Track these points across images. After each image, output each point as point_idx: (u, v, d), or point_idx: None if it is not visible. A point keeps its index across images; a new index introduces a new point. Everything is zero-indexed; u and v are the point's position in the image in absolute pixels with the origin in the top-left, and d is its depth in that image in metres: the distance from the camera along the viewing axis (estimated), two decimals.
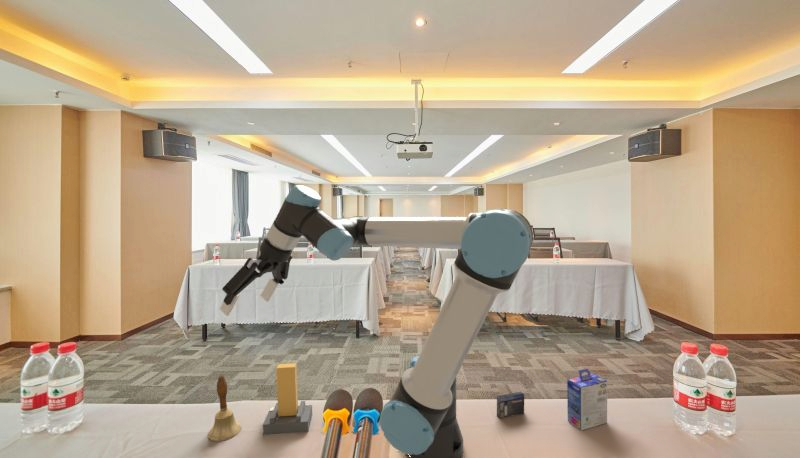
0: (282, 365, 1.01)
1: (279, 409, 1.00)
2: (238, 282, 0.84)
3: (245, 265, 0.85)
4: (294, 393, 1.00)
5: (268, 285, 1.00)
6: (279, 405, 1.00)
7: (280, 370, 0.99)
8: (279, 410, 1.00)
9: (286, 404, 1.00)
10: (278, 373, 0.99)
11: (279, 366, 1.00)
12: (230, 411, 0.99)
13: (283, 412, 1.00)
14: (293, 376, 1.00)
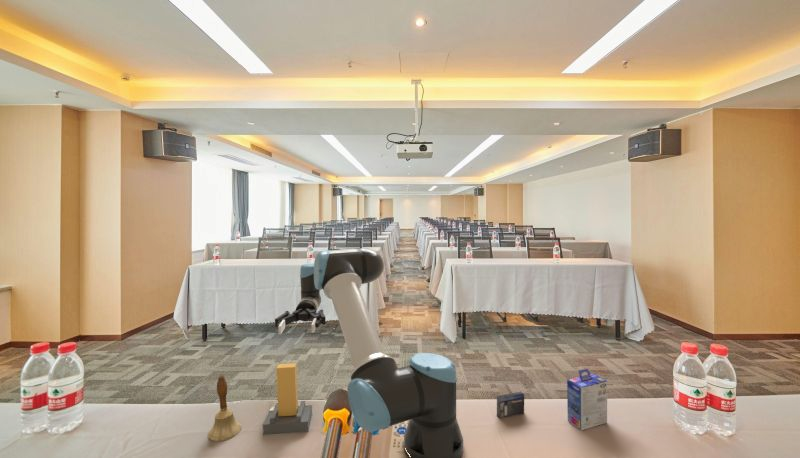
0: (282, 365, 1.01)
1: (279, 409, 1.00)
2: None
3: None
4: (294, 393, 1.00)
5: None
6: (279, 405, 1.00)
7: (280, 370, 0.99)
8: (279, 410, 1.00)
9: (286, 404, 1.00)
10: (278, 373, 0.99)
11: (279, 366, 1.00)
12: (230, 411, 0.99)
13: (283, 412, 1.00)
14: (293, 376, 1.00)
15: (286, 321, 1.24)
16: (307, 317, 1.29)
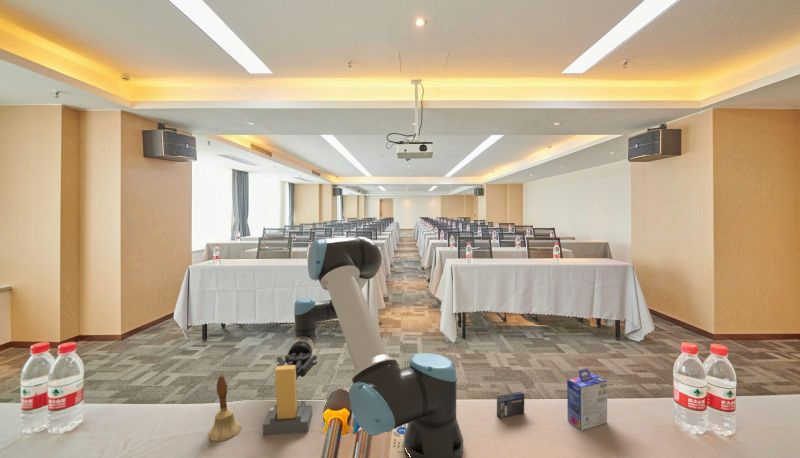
0: (281, 367, 0.99)
1: (278, 411, 0.99)
2: None
3: None
4: (293, 395, 0.99)
5: None
6: (278, 407, 0.99)
7: (279, 372, 0.98)
8: (278, 412, 0.99)
9: (285, 406, 0.99)
10: (277, 375, 0.98)
11: (278, 368, 0.99)
12: (230, 411, 0.99)
13: (282, 414, 0.99)
14: (292, 378, 0.99)
15: None
16: (301, 363, 1.16)
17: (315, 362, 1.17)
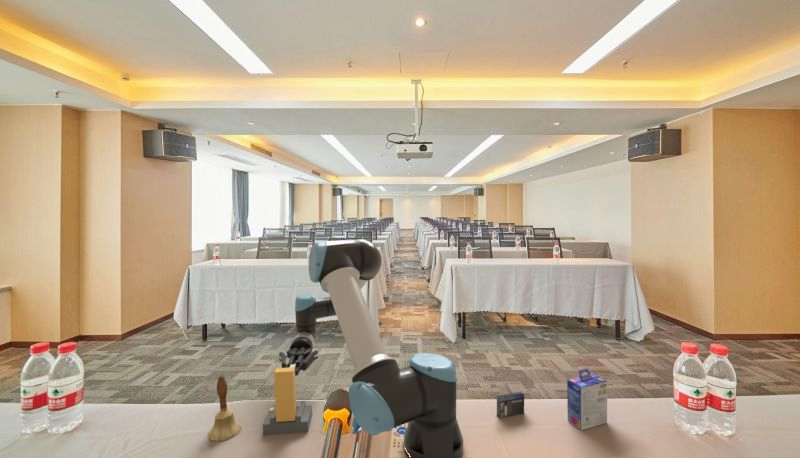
0: (280, 369, 0.98)
1: (277, 414, 0.98)
2: (281, 360, 1.14)
3: (281, 360, 1.18)
4: (292, 398, 0.98)
5: None
6: (277, 410, 0.97)
7: (278, 374, 0.97)
8: (277, 415, 0.98)
9: (284, 409, 0.98)
10: (276, 377, 0.97)
11: (277, 370, 0.98)
12: (230, 411, 0.99)
13: (281, 417, 0.98)
14: (291, 380, 0.97)
15: None
16: (302, 358, 1.18)
17: (316, 357, 1.20)
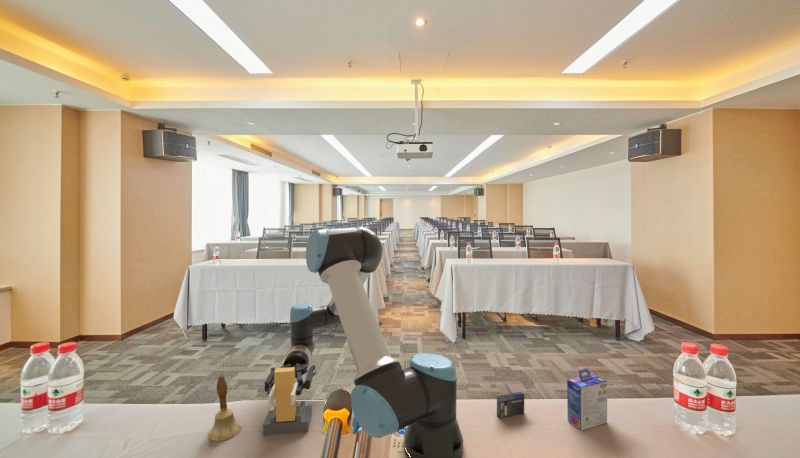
0: (280, 369, 0.98)
1: (277, 414, 0.98)
2: None
3: None
4: None
5: None
6: (277, 410, 0.97)
7: (278, 374, 0.97)
8: (277, 415, 0.98)
9: (284, 409, 0.98)
10: (276, 377, 0.97)
11: (277, 370, 0.98)
12: (230, 411, 0.99)
13: (281, 417, 0.98)
14: (291, 380, 0.97)
15: None
16: (297, 375, 1.07)
17: (314, 372, 1.09)
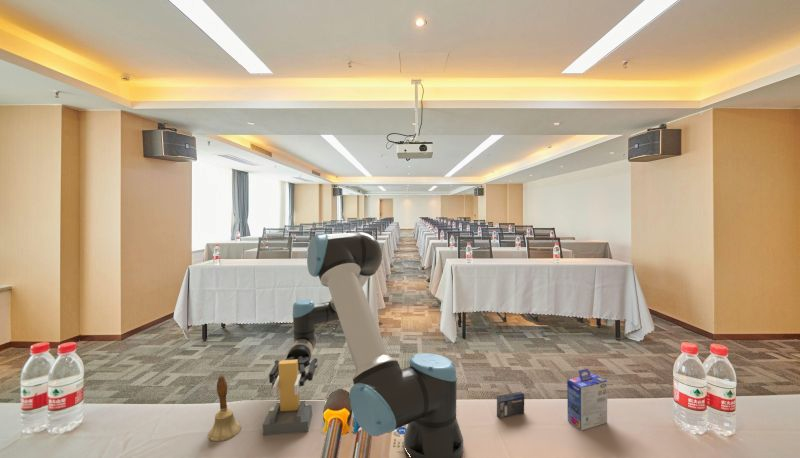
0: (284, 361, 1.03)
1: (281, 404, 1.02)
2: None
3: None
4: None
5: None
6: (281, 400, 1.02)
7: (282, 366, 1.02)
8: (281, 405, 1.02)
9: (288, 399, 1.03)
10: (280, 369, 1.02)
11: (281, 362, 1.02)
12: (230, 411, 0.99)
13: (285, 407, 1.03)
14: (295, 372, 1.02)
15: None
16: (300, 368, 1.12)
17: (316, 365, 1.14)
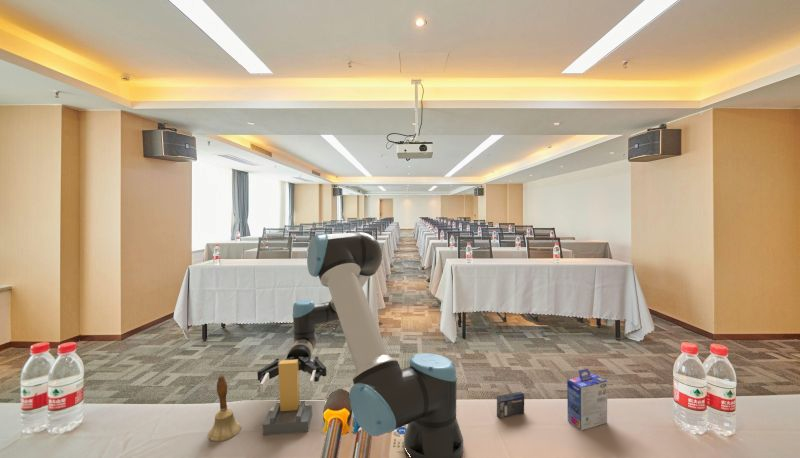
0: (284, 361, 1.03)
1: (281, 404, 1.02)
2: None
3: None
4: (296, 388, 1.03)
5: None
6: (281, 400, 1.02)
7: (282, 366, 1.02)
8: (281, 405, 1.03)
9: (288, 399, 1.03)
10: (280, 369, 1.02)
11: (281, 362, 1.02)
12: (230, 411, 0.99)
13: (285, 407, 1.03)
14: (295, 372, 1.02)
15: (271, 374, 1.08)
16: (300, 368, 1.12)
17: None
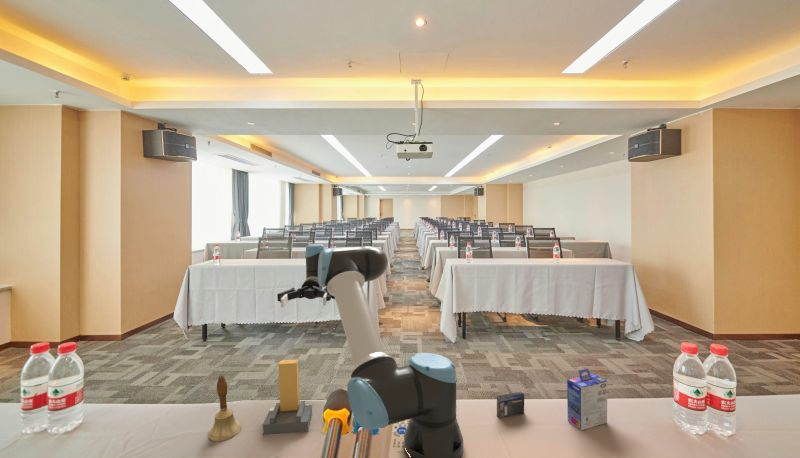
0: (284, 361, 1.03)
1: (281, 404, 1.02)
2: None
3: None
4: (296, 388, 1.03)
5: None
6: (281, 400, 1.02)
7: (282, 366, 1.02)
8: (281, 405, 1.03)
9: (288, 399, 1.03)
10: (280, 369, 1.02)
11: (281, 362, 1.02)
12: (230, 411, 0.99)
13: (285, 407, 1.03)
14: (295, 372, 1.02)
15: (289, 296, 1.26)
16: (313, 294, 1.31)
17: None
